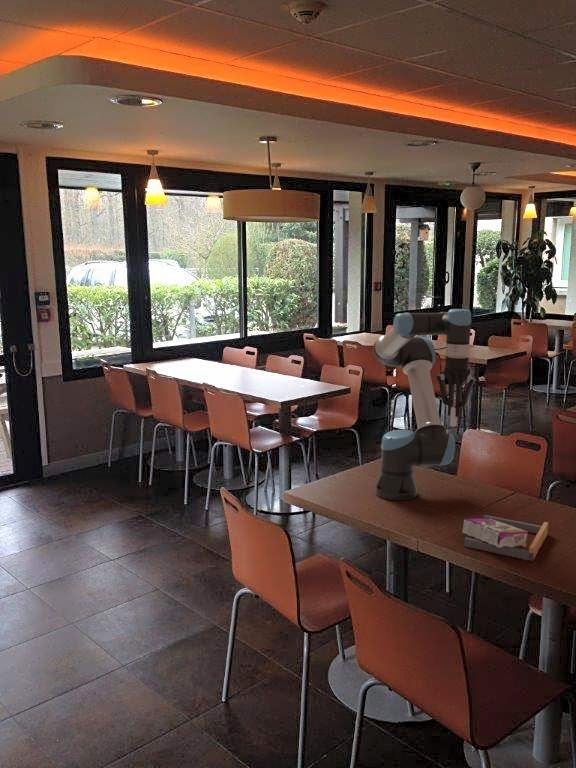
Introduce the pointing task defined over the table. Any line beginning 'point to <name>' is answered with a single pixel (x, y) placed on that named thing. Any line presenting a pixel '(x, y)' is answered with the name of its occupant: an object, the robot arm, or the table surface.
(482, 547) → the u-shaped frame
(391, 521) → the table surface
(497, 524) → the candy bar box
